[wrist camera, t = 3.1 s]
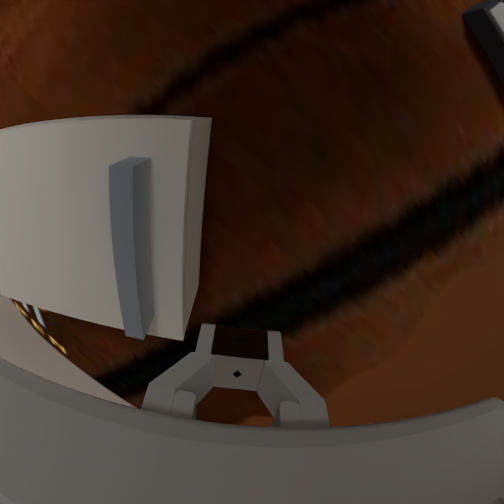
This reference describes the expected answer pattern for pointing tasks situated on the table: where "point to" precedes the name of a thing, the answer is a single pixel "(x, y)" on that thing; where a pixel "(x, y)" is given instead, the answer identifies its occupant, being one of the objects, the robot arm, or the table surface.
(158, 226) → the lid
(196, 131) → the box
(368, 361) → the table surface
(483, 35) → the calculator
